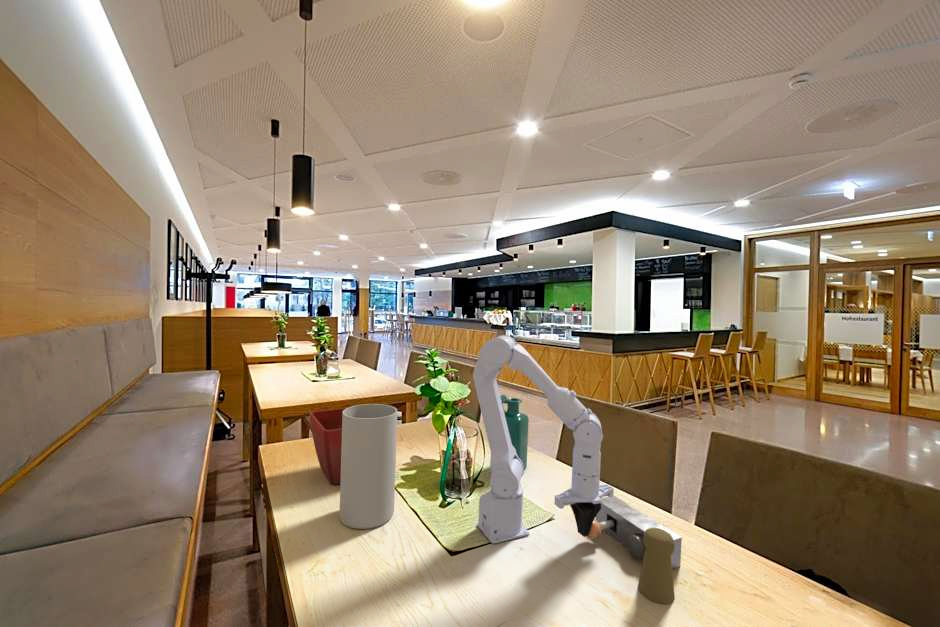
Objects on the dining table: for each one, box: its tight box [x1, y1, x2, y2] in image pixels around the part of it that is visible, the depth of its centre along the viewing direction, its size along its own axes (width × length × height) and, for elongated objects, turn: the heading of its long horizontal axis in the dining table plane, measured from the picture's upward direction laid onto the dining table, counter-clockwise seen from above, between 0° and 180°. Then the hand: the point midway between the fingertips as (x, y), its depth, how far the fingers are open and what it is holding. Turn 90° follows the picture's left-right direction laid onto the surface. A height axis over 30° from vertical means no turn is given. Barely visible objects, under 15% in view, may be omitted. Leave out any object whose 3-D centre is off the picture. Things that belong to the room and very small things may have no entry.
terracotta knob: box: [585, 518, 614, 540], centre depth 86 cm, size 7×4×4 cm, turn 115°
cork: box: [637, 528, 676, 605], centre depth 71 cm, size 6×6×11 cm
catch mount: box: [595, 495, 683, 571], centre depth 85 cm, size 6×18×6 cm, turn 25°
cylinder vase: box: [339, 403, 398, 530], centre depth 92 cm, size 12×12×25 cm
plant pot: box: [309, 407, 347, 486], centre depth 114 cm, size 19×19×17 cm
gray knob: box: [626, 534, 646, 557], centre depth 81 cm, size 7×4×4 cm, turn 115°
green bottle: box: [500, 394, 530, 470], centre depth 122 cm, size 10×8×22 cm
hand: (583, 533), depth 84 cm, fingers closed
